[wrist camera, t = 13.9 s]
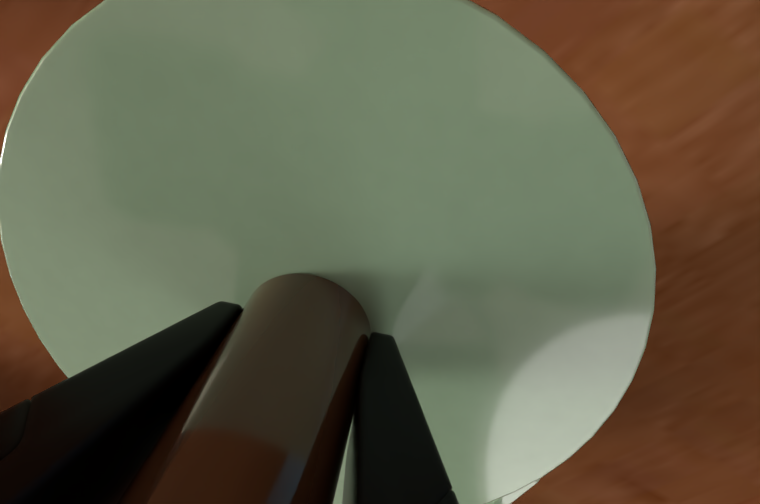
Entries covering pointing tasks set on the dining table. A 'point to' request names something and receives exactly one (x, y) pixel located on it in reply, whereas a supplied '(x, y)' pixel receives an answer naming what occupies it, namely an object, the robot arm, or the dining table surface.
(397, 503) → the robot arm
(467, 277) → the lid
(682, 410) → the dining table surface
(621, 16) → the dining table surface
